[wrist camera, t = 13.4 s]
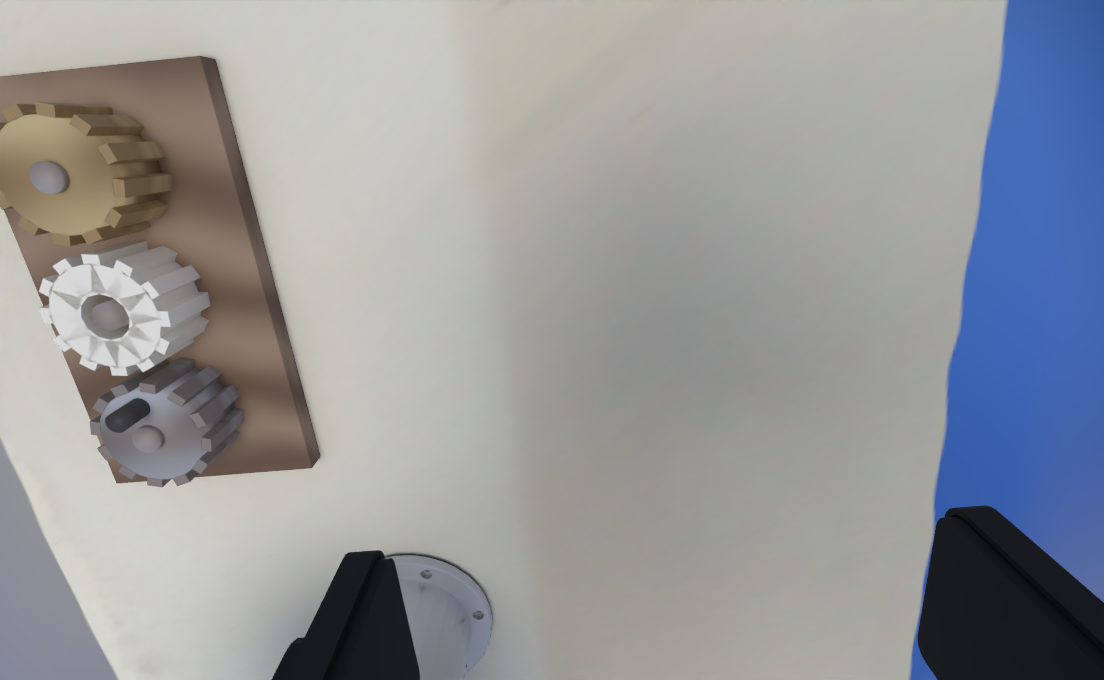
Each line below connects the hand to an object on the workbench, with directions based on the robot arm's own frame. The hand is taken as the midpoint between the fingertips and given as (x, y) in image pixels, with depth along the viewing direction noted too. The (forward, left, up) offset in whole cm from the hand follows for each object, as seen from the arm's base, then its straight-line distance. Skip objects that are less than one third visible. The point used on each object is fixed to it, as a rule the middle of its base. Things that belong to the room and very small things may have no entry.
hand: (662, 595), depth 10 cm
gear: (-10, +25, -27) cm, 38 cm away
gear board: (-10, +25, -28) cm, 39 cm away
